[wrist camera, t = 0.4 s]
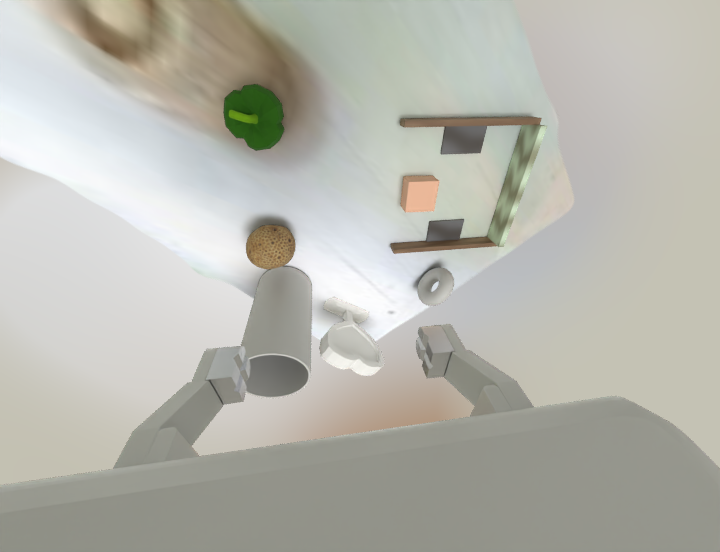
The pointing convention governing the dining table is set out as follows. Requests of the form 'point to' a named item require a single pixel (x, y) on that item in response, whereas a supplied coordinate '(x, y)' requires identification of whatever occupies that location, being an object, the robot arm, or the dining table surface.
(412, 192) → the terracotta block
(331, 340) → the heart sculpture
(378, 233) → the dining table surface
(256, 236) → the natural sponge
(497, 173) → the dining table surface
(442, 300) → the donut
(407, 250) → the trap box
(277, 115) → the bell pepper
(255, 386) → the cylinder vase
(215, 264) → the dining table surface
